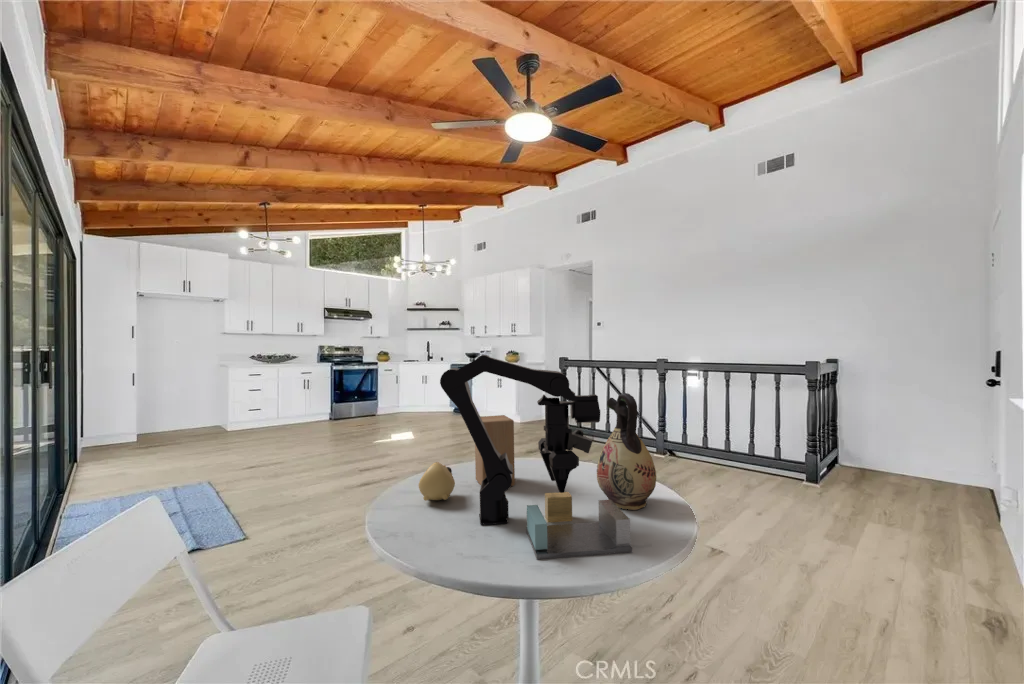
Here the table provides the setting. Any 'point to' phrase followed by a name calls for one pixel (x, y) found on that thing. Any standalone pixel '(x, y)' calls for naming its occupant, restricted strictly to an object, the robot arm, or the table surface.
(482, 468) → the wooden block
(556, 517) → the brass block
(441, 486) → the toy pig
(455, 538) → the table surface
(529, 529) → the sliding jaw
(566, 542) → the vise base
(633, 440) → the ceramic jug
